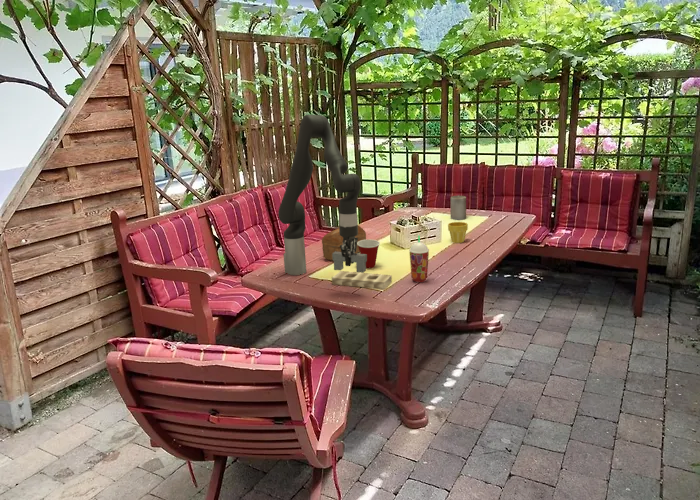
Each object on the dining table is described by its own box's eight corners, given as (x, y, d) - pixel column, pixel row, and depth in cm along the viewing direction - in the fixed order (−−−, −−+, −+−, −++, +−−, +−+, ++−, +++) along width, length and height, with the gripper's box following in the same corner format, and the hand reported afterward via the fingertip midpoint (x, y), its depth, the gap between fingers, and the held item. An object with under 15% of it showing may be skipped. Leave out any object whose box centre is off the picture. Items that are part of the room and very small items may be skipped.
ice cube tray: (332, 284, 247) (331, 277, 247) (341, 277, 256) (340, 270, 256) (384, 289, 239) (384, 282, 238) (391, 281, 247) (391, 275, 247)
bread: (319, 260, 283) (317, 232, 280) (351, 246, 305) (350, 220, 301) (338, 263, 277) (337, 235, 273) (370, 249, 299) (369, 223, 295)
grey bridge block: (332, 269, 235) (332, 253, 234) (335, 267, 238) (335, 251, 236) (364, 272, 230) (364, 256, 228) (367, 270, 233) (366, 254, 231)
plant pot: (444, 241, 307) (444, 224, 304) (456, 238, 313) (456, 220, 311) (459, 245, 299) (459, 227, 297) (471, 241, 306) (471, 223, 303)
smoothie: (427, 276, 252) (427, 232, 246) (430, 282, 244) (430, 237, 238) (408, 277, 252) (407, 233, 246) (411, 283, 244) (410, 238, 238)
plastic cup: (361, 271, 263) (360, 246, 260) (355, 264, 273) (354, 240, 270) (383, 268, 266) (383, 243, 263) (376, 262, 276) (375, 238, 273)
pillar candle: (457, 215, 366) (457, 192, 362) (469, 218, 358) (469, 194, 354) (447, 218, 360) (447, 195, 356) (459, 220, 353) (459, 197, 348)
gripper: (346, 219, 236) (347, 258, 241) (332, 227, 224) (334, 268, 229) (363, 220, 233) (364, 260, 238) (350, 228, 221) (351, 270, 226)
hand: (349, 264), depth 233 cm, fingers closed on grey bridge block, 3 cm apart
